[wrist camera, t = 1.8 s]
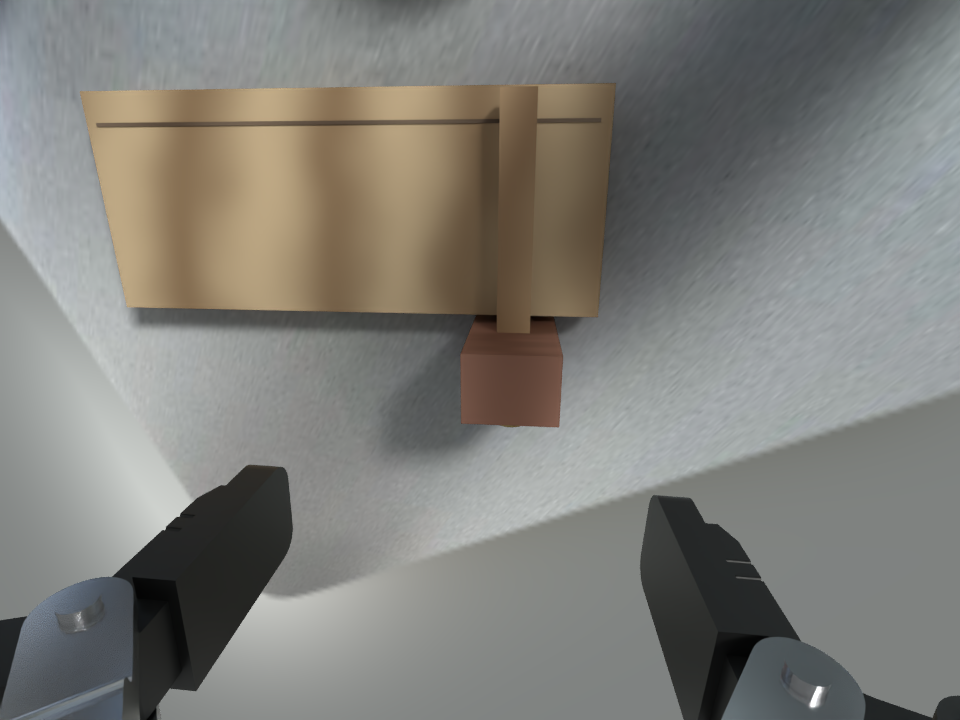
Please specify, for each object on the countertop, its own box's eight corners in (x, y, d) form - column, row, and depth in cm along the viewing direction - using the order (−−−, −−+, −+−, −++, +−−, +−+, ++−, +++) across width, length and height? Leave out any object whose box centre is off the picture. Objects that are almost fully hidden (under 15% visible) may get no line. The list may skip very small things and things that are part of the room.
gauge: (563, 102, 23) (579, 63, 16) (550, 384, 27) (557, 445, 21) (476, 103, 23) (457, 66, 17) (476, 382, 28) (461, 441, 21)
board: (608, 92, 23) (616, 82, 21) (592, 308, 26) (598, 317, 24) (113, 99, 25) (78, 91, 23) (154, 299, 28) (126, 307, 26)
